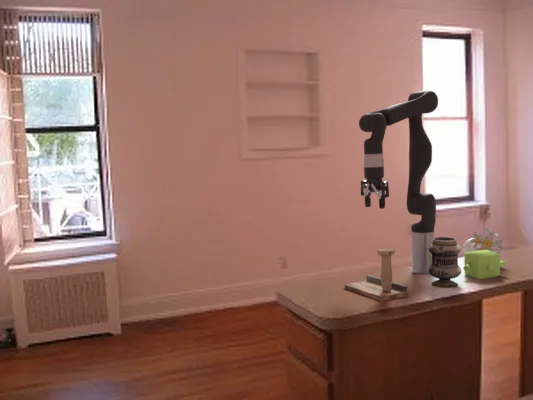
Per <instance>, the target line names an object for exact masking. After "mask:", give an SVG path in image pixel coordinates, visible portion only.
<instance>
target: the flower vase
mask: <svg viewBox="0 0 533 400" xmlns="http://www.w3.org/2000/svg"><path fill="white" fill-rule="evenodd" d="M482 227H483V228H484V230H485V232H486V234H487V235H486V237H485V236H483V233H482V232H481V233H479V234H478V233H477V232H476V231H474V232H473V237H474V238H473V237H472V238H468V239H466V240H465V241H464V243H463V245H462V251H463V254H465V253H466V252H472V251H479V250H489V251H492V252H495V253H497V254H501V253H502V252H503V251H504V249H503V246H502V245H501V244H502V243H503V239H502V238H501V233H498V232H495V231H492V228H491V227H489V226H487V227H486V226H485V225H482ZM494 236H496V237H497V238H496V239H495V241H493V240H494ZM496 247H497V248H498V250H496V251H493V248H496Z"/></svg>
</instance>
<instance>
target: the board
mask: <svg viewBox="0 0 533 400" xmlns="http://www.w3.org/2000/svg"><path fill="white" fill-rule="evenodd" d="M382 287H383V286H382V283H381V277H378V276H374V275H371V274H368V275H366V280H362V281H355V282H351V283H346V284H344V289H346V290H348V291H351V292H354V293H357V294H360V295H363V296H366V297H369V298H371V299H374V300H377V301H380V302H384V301H390V300H394V299H399V298H403V297H407V296H409V291H408V290H409V289H408V286H407V285H404V284H402V283H398V282H394V281H392V286H391V287H392V289H391V291H383V290H382Z"/></svg>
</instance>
